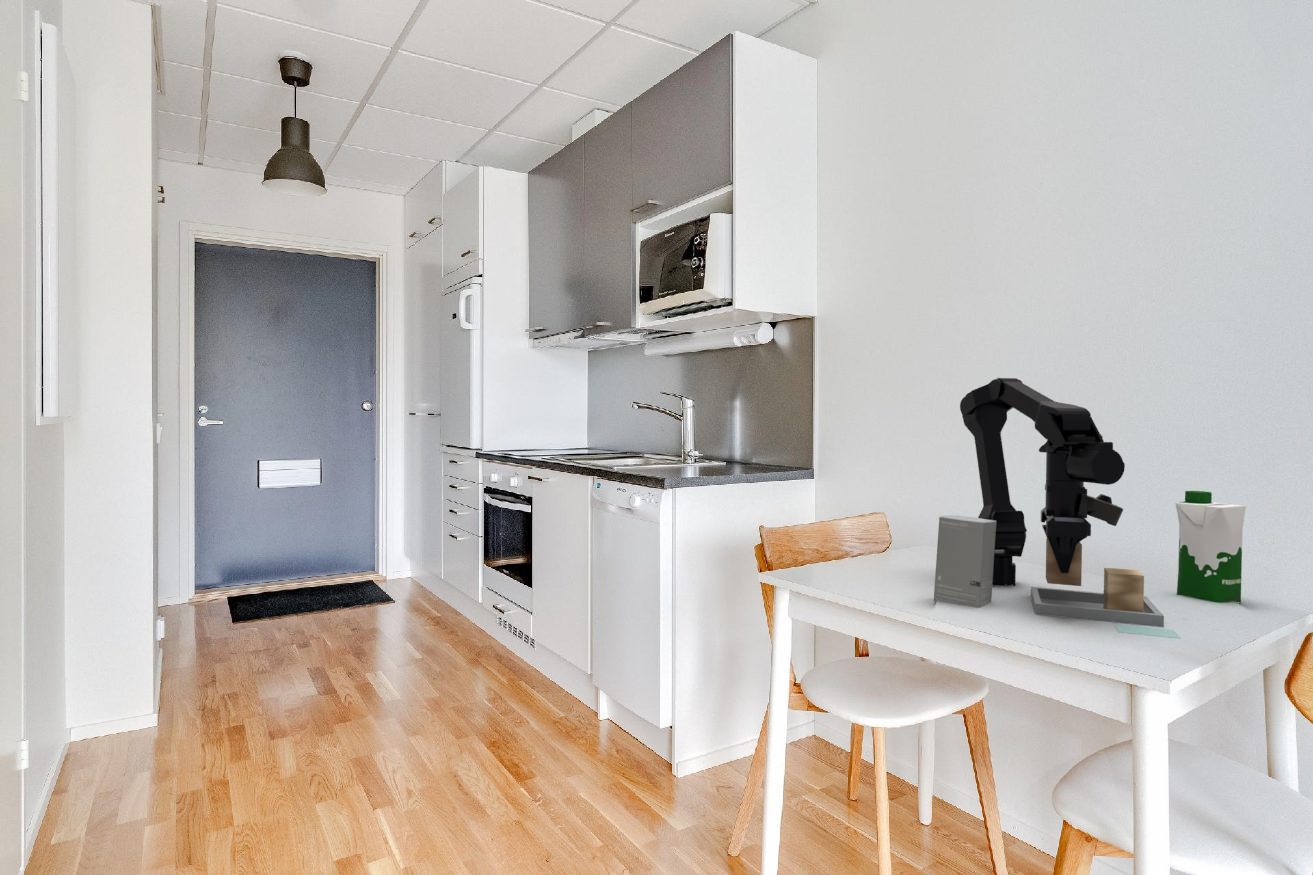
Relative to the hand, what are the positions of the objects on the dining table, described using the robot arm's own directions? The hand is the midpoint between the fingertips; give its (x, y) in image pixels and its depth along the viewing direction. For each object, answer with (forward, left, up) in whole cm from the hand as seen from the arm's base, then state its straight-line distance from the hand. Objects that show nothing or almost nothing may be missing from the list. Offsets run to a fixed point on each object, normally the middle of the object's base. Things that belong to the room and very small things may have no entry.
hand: (1063, 570), depth 127 cm
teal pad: (+10, -11, -7) cm, 17 cm away
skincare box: (-16, -2, -8) cm, 17 cm away
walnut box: (0, 0, -2) cm, 2 cm away
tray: (+4, 0, -7) cm, 9 cm away
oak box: (+9, 0, -6) cm, 11 cm away
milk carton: (+25, +21, -8) cm, 34 cm away
